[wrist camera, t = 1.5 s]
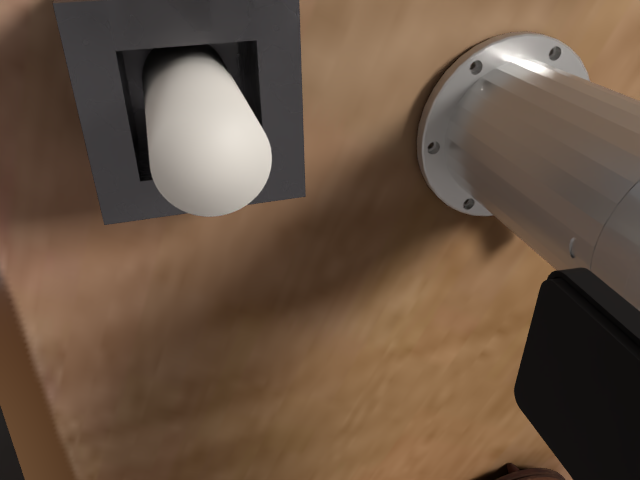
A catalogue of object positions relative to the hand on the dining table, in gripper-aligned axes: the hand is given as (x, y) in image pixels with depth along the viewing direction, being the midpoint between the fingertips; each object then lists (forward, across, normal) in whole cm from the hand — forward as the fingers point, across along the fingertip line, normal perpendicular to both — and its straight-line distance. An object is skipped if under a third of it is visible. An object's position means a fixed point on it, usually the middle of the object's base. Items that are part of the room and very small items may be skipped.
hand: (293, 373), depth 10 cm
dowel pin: (+25, 0, +1) cm, 25 cm away
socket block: (+26, 0, +1) cm, 26 cm away
